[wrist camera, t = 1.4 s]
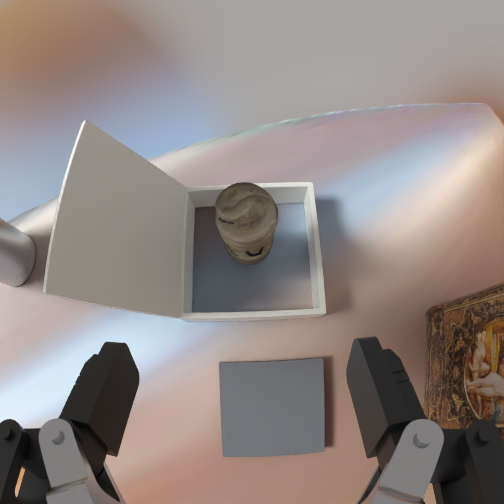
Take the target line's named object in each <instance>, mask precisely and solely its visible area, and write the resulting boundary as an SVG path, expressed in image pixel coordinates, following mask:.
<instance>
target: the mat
mask: <svg viewBox="0 0 504 504" xmlns="http://www.w3.org/2000/svg"><path fill="white" fill-rule="evenodd" d="M219 377H220V405H221V427H222V446H223V457H263V456H283V455H296V454H307V453H316V452H324V443H325V410H324V367H323V358H310V359H296V360H279V361H255V362H220V363H219Z"/></svg>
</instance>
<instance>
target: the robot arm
mask: <svg viewBox="0 0 504 504" xmlns="http://www.w3.org/2000/svg"><path fill="white" fill-rule="evenodd" d="M34 262H35V245H34V242H33V240H32V239H31V238H30V237H29V236H28V235H26V234H24V233H23V232H21V231H20V230H18V229H16V228H15V227H13V226H12V225H10V224H9V223H7V222H5V221H4V220H2V219H1V218H0V282H2V283H4V284H7V285H10V286H13V287H16V286H20V285H21V284H23V283H24V282H25V281H26V280H27V278H28V277H29V275H30V273H31V271H32V269H33V266H34ZM75 383H76V385H74V386H73V389H72V391H71V393H70V395H69V397H68V399H67V401H66V404H65V406H64V408H63V410H62V412H61V415H60V416H59V418H58V419H52V420H49V421H48V422H46V423H45V424H44V425H43V426H42V428H36V429H23V428H22V427H21V426H20V425H19V424H18V423H17V422H16V421H15V420H12V419H7V420H4V421H2V422H1V423H0V504H126V502H125V501H124V499H123V497H122V495H121V493H120V491H119V489H118V487H117V485H116V483H115V481H114V479H113V477H112V475H111V473H110V471H109V469H108V466H107V464H106V462H105V458H106V454H107V455H112V456H116V457H117V456H118V452H119V448H120V445H121V441H122V438H123V434H124V431H125V428H126V424H127V421H128V418H129V414H130V411H131V408H132V405H133V401H134V398H135V395H136V392H137V389H138V386H139V372H138V369H137V367H136V364H135V362H134V360H133V357H132V355H131V353H130V350H129V348H128V346H127V344H126V343H117V342H105V343H104V345H103V346H102V348H101V350H100V352H99V354H98V355H97V354H94V355H93V356H92V357H91V358H90V359H89V360H88V361H87V362H86V363H85V364H84V366H83V368H82V370H81V372H80V376H78V378H77V380H76V382H75ZM347 383H348V387H349V390H350V394H351V397H352V401H353V405H354V409H355V412H356V416H357V420H358V424H359V428H360V432H361V436H362V440H363V444H364V448H365V452H366V456H367V458H371V457H376V456H377V458H378V462H379V464H378V466H377V468H376V470H375V471H374V473H373V475H372V477H371V479H370V481H369V482H368V484H367V486H366V488H365V489H364V491H363V493H362V494H361V496H360V498H359V499H358V501H357V503H356V504H425V502H424V501H423V498H424V495H425V493H426V490H427V488H428V485H429V483H432V485H433V489H434V494H435V498H436V503H437V504H504V442H503V440H502V437H501V435H500V432H499V430H498V428H497V426H496V425H495V424H494V423H493V422H491V421H489V420H487V419H478V420H475V421H474V422H472V423H471V424H470V425H469V427H468V428H467V429H443V428H440V427H439V425H437V424H436V423H435V422H433V421H431V420H428V419H427V418H426V416H425V414H424V412H423V409H422V407H421V404H420V402H419V400H418V397H417V395H416V393H415V390H414V388H413V386H412V384H411V382H410V381H409V377H408V375H407V372H405V368H404V366H403V364H402V362H401V360H400V358H399V357H398V356H397V355H396V354H395V353H394V352H393V351H392V350H391V349H386V350H383V349H382V347H381V345H380V343H379V340H378V339H377V337H375V336H373V337H365V338H357V339H354V341H353V345H352V349H351V353H350V357H349V361H348V365H347ZM21 467H23V468H24V469H25V472H24V476H23V479H22V482H21V486H20V489H19V493H18V496H17V498H16V496H15V487H16V484H17V480H18V477H19V474H20V470H21Z"/></svg>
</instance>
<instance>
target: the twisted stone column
mask: <svg viewBox="0 0 504 504" xmlns="http://www.w3.org/2000/svg"><path fill="white" fill-rule="evenodd" d="M215 208H216V216H215V217H216V225H217V227H218V230H219V233H220V235H221V237H222V238H223V240H224V244H225V248H226V250H227V252H228V254H229V255H230V256H231V258H232V259H233V260H235V261H236V262H238V263H240V264H244V265H253V264H257V263H259V262H261V261H262V260H263V259H265V258H266V257H267V255H268V254H269V252H270V249H271V247H272V241H273V236H274V230H275V227H276V225H277V220H278V209H277V206H276V204H275V202H274V200H273V198H272V197H271V196H270V194H269V193H268V192H267V191H265V190H264V189H263V188H261V187H260V186H258V185H256V184H252V183H246V182H243V183H236V184H233V185H230V186H229V187H227V188H225V189H224V190H223V191H222V192H221V193H220V194H219V196H218V197H217V200H216V203H215Z"/></svg>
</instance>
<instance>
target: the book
mask: <svg viewBox="0 0 504 504" xmlns="http://www.w3.org/2000/svg"><path fill="white" fill-rule="evenodd" d="M425 318H426V368H425V388H424V403H423V412H424V414H425V416H426V418H427V419H428V420H431V421H433V422H435V423H436V424H437V425H439V427H440V428H443V429H467V428H468V427H469V425H470V424H471V423H472V422H474V421H475V420H478V419H487V420H489V421H491V422H493V423H494V424H495V425H496V426H497V428H498V430H499V432H500V435H501V437H502V440H503V442H504V282H503V283H501V284H498V285H495V286H493V287H490V288H487V289H485V290H482V291H479V292H476V293H473V294H470V295H467V296H465V297H462V298H459V299H456V300H453V301H449V302H446V303H443V304H440V305H437V306H434V307H432V308H430V309H429V310H428V311H427V313H426V315H425Z"/></svg>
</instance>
